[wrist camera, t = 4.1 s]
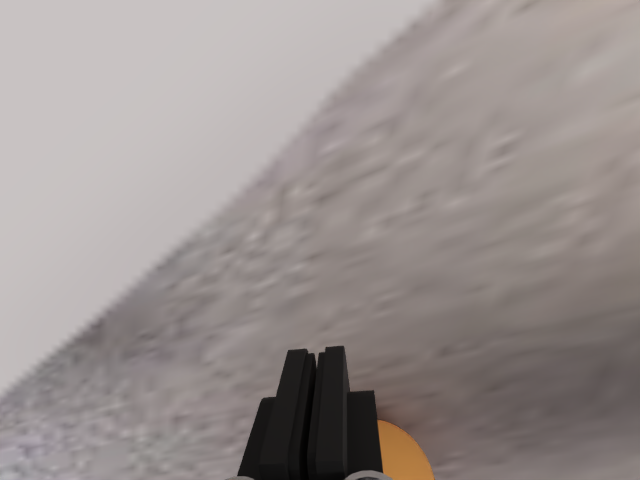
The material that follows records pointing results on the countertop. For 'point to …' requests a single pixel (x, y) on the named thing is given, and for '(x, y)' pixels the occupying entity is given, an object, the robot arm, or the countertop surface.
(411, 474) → the ball
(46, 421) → the countertop surface
